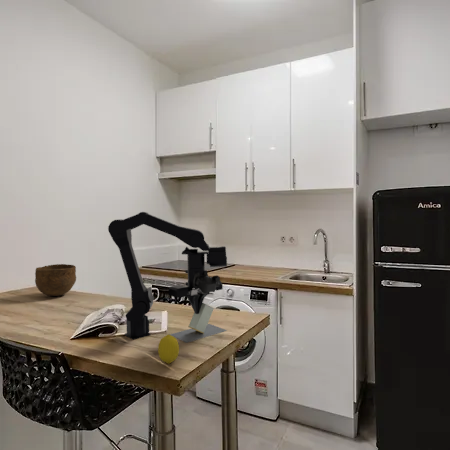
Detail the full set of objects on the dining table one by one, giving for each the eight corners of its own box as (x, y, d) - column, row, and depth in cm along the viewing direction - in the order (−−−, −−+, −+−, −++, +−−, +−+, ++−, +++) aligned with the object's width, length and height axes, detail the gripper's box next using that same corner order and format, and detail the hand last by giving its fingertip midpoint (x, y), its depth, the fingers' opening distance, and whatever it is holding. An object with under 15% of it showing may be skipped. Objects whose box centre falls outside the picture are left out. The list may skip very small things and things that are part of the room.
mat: (186, 343, 107) (186, 342, 107) (169, 335, 115) (169, 334, 115) (227, 331, 119) (227, 330, 119) (209, 324, 126) (209, 323, 126)
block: (195, 329, 113) (205, 304, 116) (188, 327, 116) (198, 301, 119) (203, 333, 116) (213, 308, 118) (196, 330, 119) (206, 305, 121)
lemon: (159, 360, 95) (159, 331, 95) (179, 359, 96) (179, 330, 96) (157, 368, 90) (156, 338, 90) (178, 368, 90) (178, 337, 90)
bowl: (66, 300, 165) (65, 269, 165) (27, 300, 166) (26, 269, 165) (83, 291, 184) (82, 263, 184) (48, 291, 184) (47, 263, 184)
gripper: (186, 273, 103) (187, 325, 104) (232, 266, 116) (233, 313, 116) (167, 269, 112) (168, 317, 112) (212, 263, 124) (212, 306, 124)
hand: (196, 313), depth 116 cm, fingers closed
